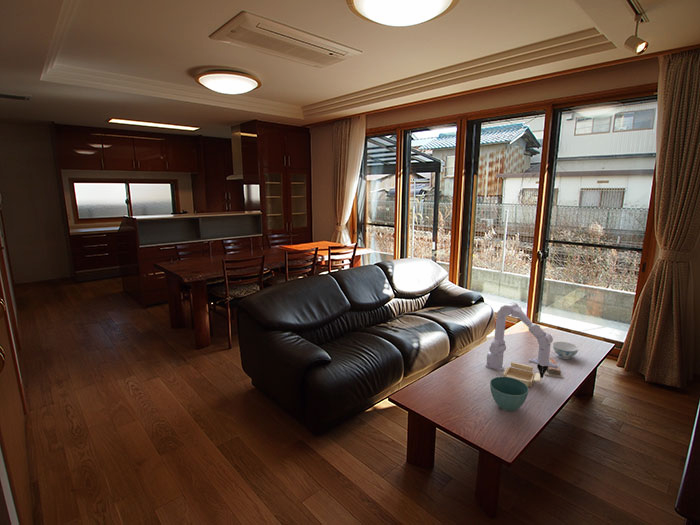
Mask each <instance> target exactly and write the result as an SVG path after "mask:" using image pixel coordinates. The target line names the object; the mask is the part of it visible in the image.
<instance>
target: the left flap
mask: <svg viewBox="0 0 700 525" xmlns="http://www.w3.org/2000/svg"><path fill="white" fill-rule="evenodd" d="M510 367H512V368H516V369H520V370H524V371H529V372H533V373H534V368H533V366H532V365H529V364H528V365H527V364H522V363H520V362H519V363H517V362H515V361H514V362H513V361H510Z"/></svg>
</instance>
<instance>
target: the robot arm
mask: <svg viewBox="0 0 700 525" xmlns="http://www.w3.org/2000/svg"><path fill="white" fill-rule="evenodd" d="M507 316H511V317H512V318H513V317H514V318H517V319H519V320H520V321H521V322H522V323H523V324H525V326H526V327H528V328H527V329H528V331H529V332H530V333H531V334H532V335H533V336H534V338H536V339H537V340H536V341H537V343H538V353H537V359H535V358H529V359H528V363H529V364H534V365H536V367H537V368H536V369H537V370H538V373H540V377H541V379H543V378H544V376H545V374H544V373H545V372H546V370H547V369H548V367H552V368H555V369H557V367H559V365H557V364H558V363H557V364H554V363H551V362H549V358H550V356H551V354H550V353H551V345H552V344H553V341H554V338H553V337H552V335H551V334H550V333H547V332H546V331H544V330H543V328H542V327H541V325H539V324H537V323H533V322H532V320H531V319H530V318H529V317H528V315H526V313H525V312H524V311H523V310H522V307H521V306H519V305H518V303H516V302H511V303H508V304H505V305H503V306H501V307H500V308H499V310H498V311H497V312H496V317H495V318H496V320H495V326H494V327H495V330H494V338H493V340H492V341H491V343H490V346H489V349H488V350H489V351H488V352H487V355H486V363H485V364H486V368H490V369H493V370H498V371H502V370H503V368H504V367H505V364H503V363H504V352H505V351H506V349H507V346H506V341H505V340H504V339H505V330H506V323H507ZM542 368H543V369H542Z"/></svg>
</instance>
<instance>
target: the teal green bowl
mask: <svg viewBox="0 0 700 525" xmlns="http://www.w3.org/2000/svg"><path fill="white" fill-rule="evenodd" d="M489 386H490V393H491V396H492V398H493V400H494V402H495V404H496V405H497V406H498V408H500V410H503V411H505V412H510V413H511V412H515V411H516V410H518V409H519V408H520V407H522V406H523V404H525V402H526V399H527V398H528V395H529V390H530V389H529V386H527V385H526V384H524V383H523V382H521V381H519V380H517V379H514V378H510V377H503V376H498V377H497V376H496V377H493V378H492V379H490V381H489Z"/></svg>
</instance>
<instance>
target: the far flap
mask: <svg viewBox="0 0 700 525" xmlns="http://www.w3.org/2000/svg"><path fill="white" fill-rule="evenodd" d="M541 381H542V378H541V377H540V373H539V372H536V373H535V376H534V380H533V383H534V382H535V383H537V382H538V383H540V382H541Z"/></svg>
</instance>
